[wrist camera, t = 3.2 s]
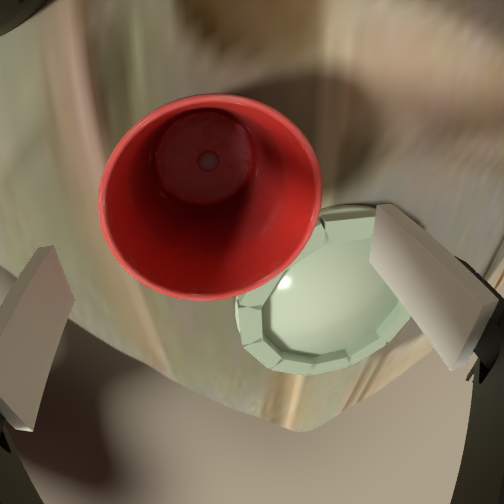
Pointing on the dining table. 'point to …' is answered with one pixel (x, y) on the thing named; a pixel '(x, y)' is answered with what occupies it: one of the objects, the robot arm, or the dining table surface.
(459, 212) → the dining table surface
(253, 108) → the flower pot
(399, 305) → the round tray
